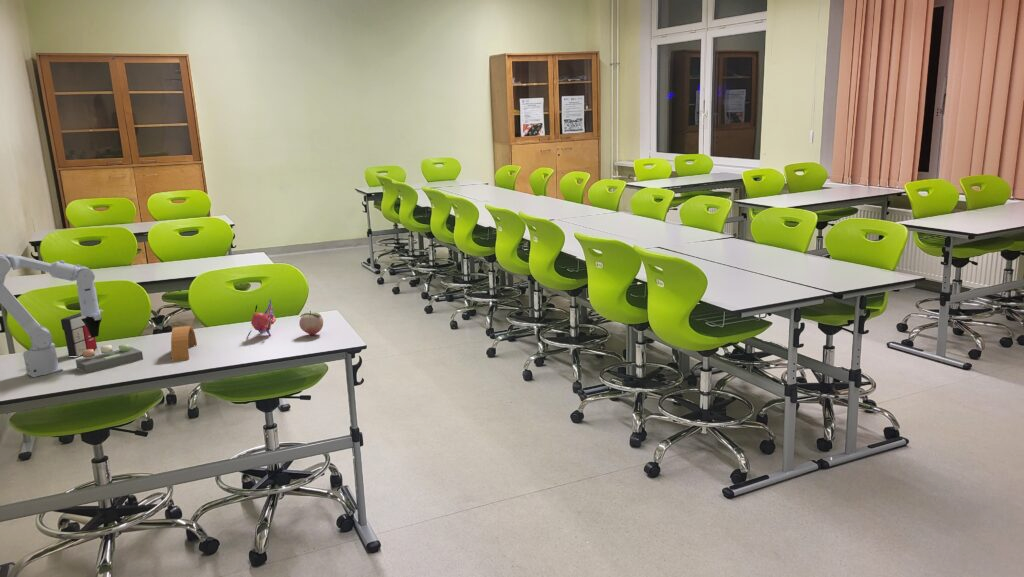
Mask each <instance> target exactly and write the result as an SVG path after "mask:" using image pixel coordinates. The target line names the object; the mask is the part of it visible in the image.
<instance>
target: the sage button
mask: <svg viewBox="0 0 1024 577" xmlns="http://www.w3.org/2000/svg"><path fill="white" fill-rule="evenodd" d="M130 347H131V344H130V343H122V344H119V345H118V350H119V351H120V352H126V351H129V350H130Z"/></svg>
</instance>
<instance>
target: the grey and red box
mask: <svg viewBox="0 0 1024 577" xmlns="http://www.w3.org/2000/svg"><path fill="white" fill-rule="evenodd" d="M83 318H86V316H81V312H79V313H75V314H72V315H70V316H67V317H63V318H61V319H60V323H61V329H62V330H63V332H64V337H65V341H66V342H65V343H66V347H67V353H68V357H69V356H79V355H81V354H83V353H82V351H84V350H88V349H96V348H97V349H98V346H97V340H96V337H91V336H90V333H89V331H88V329H87V327H86V325H85V324H84V322H83V321H82V319H83ZM97 349H96V350H97ZM81 356H82V355H81ZM79 357H80V356H79Z"/></svg>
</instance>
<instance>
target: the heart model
mask: <svg viewBox="0 0 1024 577" xmlns="http://www.w3.org/2000/svg"><path fill="white" fill-rule="evenodd" d="M268 301H269V304H268V306H267V308H266V309H265V310H266V311H264V312H257V309H258V304H256V306H255V311H254V312H255V313H253V315H252V316H251V320H250V323H251V326H252V328H253V329H254V330H256V331H258V332H259V333H260V334H263V333H264V332H266V333H267V335H268V336H269V335H271V336H272V334H271V333H270V331H271V327H272V325H274V323H276V321H277V318H276V317H275V313H272V312H274V311H275V312H276V311H277V310H275V309H274V307H273V305H272V299H269V300H268ZM252 331H253V330H251V329H250V331H249V332H248V335H247V336H246V339H248V338H249V336H250V335H251V332H252Z"/></svg>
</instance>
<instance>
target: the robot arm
mask: <svg viewBox="0 0 1024 577" xmlns="http://www.w3.org/2000/svg"><path fill="white" fill-rule="evenodd" d="M11 268H12V271H16V270H19V269H22V268H24V269H29V270H34V271H39V272H40V271H41V272H45V273H48V274H49V275H50V276H51V277H53V278H57V279H62V280H65V281H69V282H73V281H76V285H77V286H76V288H77V297H78V300H79V301H78V302H79V308H80V313H81V316H86V318H83V319H82V321H83V322H84V324H85V325H86V327H87V329H88V331H89V333H90V336H91V337H95V338H97V337H99V334H100V327H101V326H100V325H101V322H102V319H103V317H102V315H101V313H104V310H103V309H100V307H99V301H98V295H97V289H96V286H95V281H94V280H95V277H96V275H95V274H94V272H93V271H92V270H91V269H90V268H89V267H87V266H84V265H81V264H78V263H76V264H71V263H67V262H66V261H65V260H62V259H61V260H59V261H58V260H56V261H54V262H52V263H49V262H46V261H42V260H38V259H34V258H31V257H27V256H22V255H16V254H10V253H9V254H8V253H7V254H5V253H2V252H0V304H1V306H2V307H3V308H4V309H5V310H6V311H7V312H8V313H9V314H10V316H11V317H12V318H13V319H14V320H15V321H16V323H18V324H19V326H20V327H21V328H22V329H23V331H25V333H26V335H28V337H29V339H30V341H31V342H30V343H31V346H30V349H29V350H25V351H23V359H24V364H25V370H26V374H27V375H29V376H30V377H31V378H36V377H40V376H44V375H49V374H53V373H57V372H60V371H64V368H62V367H61V366H59V361H58V356H57V351H56V350H57V349H56V344H55V343H54V342H53V338H54V337H53V336H52V334H51V331H50V330H49V328H47V327H45V326H43V325H41V324H40V323H39V322H38V321H37V320H36V319H35V318H34V317H33V316H32V314H31V313H30V312H29V311H28V310H27V309H26V308H25V307H24V305H23V304H22V303H21V302H20V301H19V300H18V298H16V296H15V295H14V294H13V293H12V292H11V291H10V289H9V288H8V287H7V286H6V285H5V280H6V275H7V274H8V273H9V272H10V270H11Z"/></svg>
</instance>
